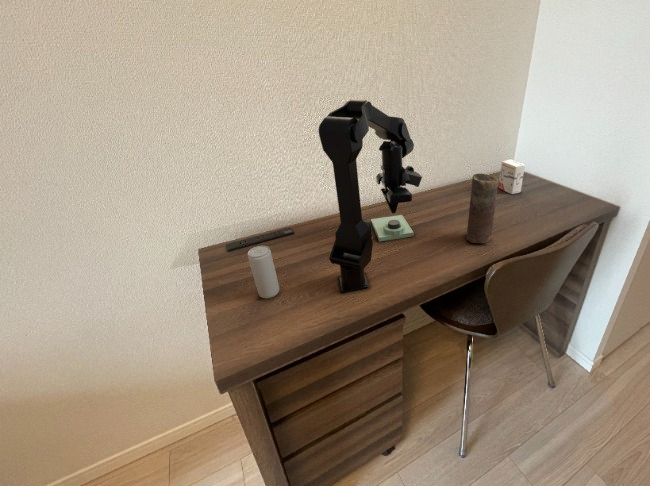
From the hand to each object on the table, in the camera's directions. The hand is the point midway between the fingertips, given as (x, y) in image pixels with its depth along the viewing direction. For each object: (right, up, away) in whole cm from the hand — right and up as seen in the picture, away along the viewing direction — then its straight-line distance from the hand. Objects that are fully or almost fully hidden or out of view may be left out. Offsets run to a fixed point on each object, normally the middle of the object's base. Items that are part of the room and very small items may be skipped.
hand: (393, 212), depth 98 cm
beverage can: (-29, -20, -21) cm, 41 cm away
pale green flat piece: (-1, -5, +7) cm, 8 cm away
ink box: (+47, +10, +35) cm, 60 cm away
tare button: (0, -4, +2) cm, 5 cm away
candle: (+26, -8, 0) cm, 27 cm away
